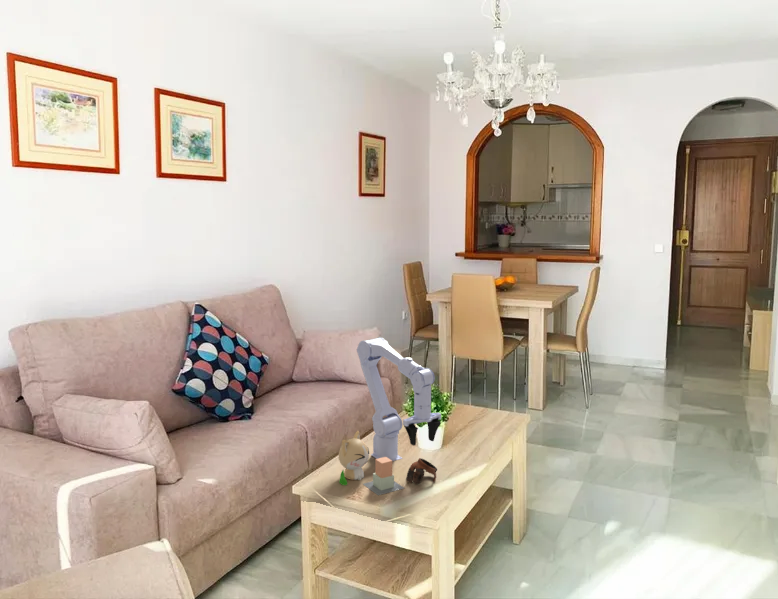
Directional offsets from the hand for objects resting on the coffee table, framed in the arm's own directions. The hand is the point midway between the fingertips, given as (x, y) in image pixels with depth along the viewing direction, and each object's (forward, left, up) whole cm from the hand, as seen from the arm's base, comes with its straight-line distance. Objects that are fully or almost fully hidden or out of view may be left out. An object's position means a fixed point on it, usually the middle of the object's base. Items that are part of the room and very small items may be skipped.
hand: (422, 442), depth 222 cm
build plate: (+4, -18, -10) cm, 21 cm away
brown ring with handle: (+7, -5, -11) cm, 14 cm away
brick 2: (+4, -18, -10) cm, 21 cm away
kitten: (-7, -23, -11) cm, 26 cm away
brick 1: (+4, -18, -6) cm, 19 cm away
